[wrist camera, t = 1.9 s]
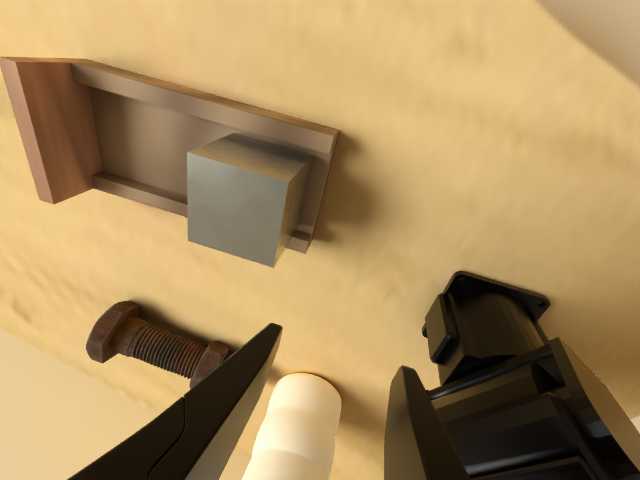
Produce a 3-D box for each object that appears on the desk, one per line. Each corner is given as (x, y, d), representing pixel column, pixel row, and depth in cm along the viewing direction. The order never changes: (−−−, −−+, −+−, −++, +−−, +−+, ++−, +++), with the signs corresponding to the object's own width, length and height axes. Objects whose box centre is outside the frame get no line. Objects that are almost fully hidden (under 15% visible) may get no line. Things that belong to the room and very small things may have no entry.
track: (339, 130, 18) (322, 149, 14) (312, 239, 23) (293, 279, 18) (83, 58, 19) (-3, 56, 15) (103, 176, 24) (39, 199, 19)
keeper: (313, 155, 18) (288, 182, 14) (298, 226, 21) (273, 267, 16) (234, 132, 18) (186, 152, 14) (229, 205, 21) (187, 240, 17)
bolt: (264, 356, 34) (134, 305, 33) (267, 351, 29) (117, 292, 29) (240, 414, 31) (98, 359, 30) (240, 419, 26) (72, 354, 26)
